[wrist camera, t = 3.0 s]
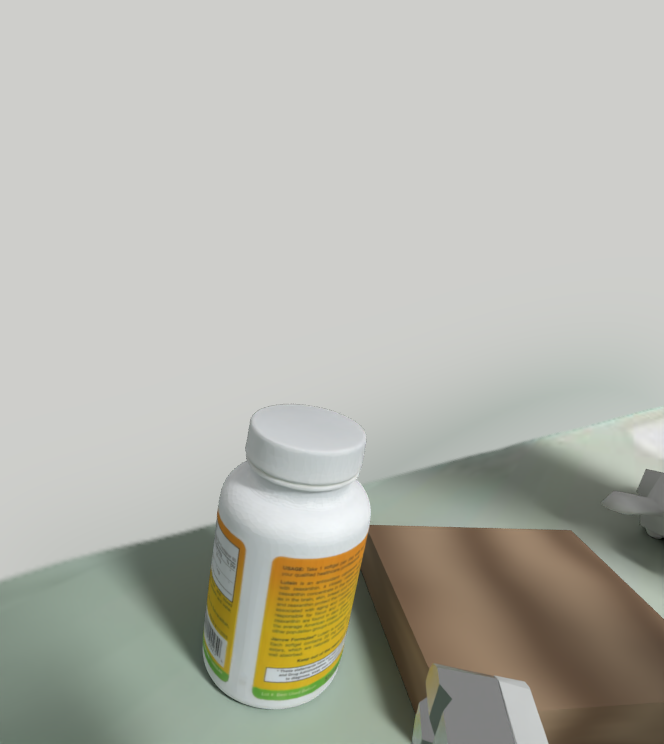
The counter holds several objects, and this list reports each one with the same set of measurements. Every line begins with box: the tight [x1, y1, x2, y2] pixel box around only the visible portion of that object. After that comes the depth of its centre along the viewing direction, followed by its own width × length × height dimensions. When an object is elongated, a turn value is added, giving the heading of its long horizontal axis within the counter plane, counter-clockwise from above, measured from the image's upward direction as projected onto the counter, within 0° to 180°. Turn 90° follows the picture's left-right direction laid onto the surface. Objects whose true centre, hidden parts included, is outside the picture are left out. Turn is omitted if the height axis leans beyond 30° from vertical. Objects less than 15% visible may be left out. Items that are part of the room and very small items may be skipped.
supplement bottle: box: [203, 404, 371, 709], centre depth 22 cm, size 6×6×11 cm
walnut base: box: [360, 525, 664, 744], centre depth 27 cm, size 14×12×2 cm
